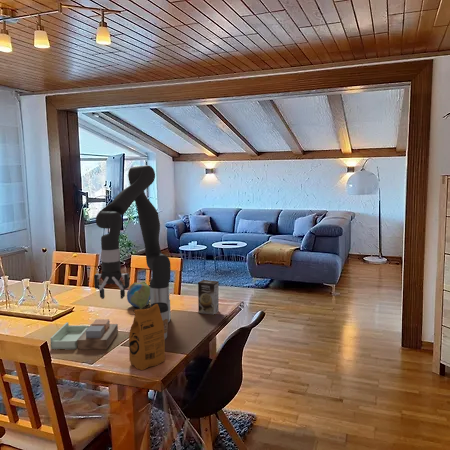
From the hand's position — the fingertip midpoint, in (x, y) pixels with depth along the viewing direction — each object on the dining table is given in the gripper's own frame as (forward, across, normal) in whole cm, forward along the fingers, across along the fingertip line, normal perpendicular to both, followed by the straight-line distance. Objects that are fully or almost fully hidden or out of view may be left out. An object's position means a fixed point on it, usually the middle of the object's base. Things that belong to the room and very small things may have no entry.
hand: (112, 298), depth 179 cm
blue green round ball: (+20, -2, -50) cm, 54 cm away
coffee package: (+20, -17, +18) cm, 32 cm away
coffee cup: (+20, -18, -6) cm, 28 cm away
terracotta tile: (+16, +8, -8) cm, 19 cm away
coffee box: (+20, -38, -40) cm, 59 cm away
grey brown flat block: (+20, +8, -4) cm, 22 cm away
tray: (+20, +20, -4) cm, 28 cm away
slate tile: (+16, +8, 0) cm, 18 cm away
